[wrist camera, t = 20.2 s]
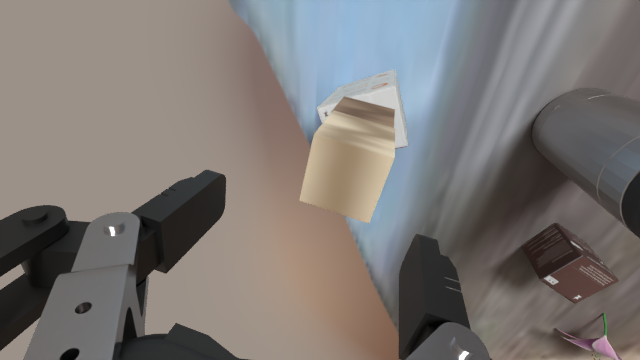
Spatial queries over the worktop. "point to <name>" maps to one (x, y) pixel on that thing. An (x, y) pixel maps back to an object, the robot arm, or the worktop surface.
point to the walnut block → (366, 111)
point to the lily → (596, 344)
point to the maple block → (348, 165)
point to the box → (567, 264)
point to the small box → (372, 99)
